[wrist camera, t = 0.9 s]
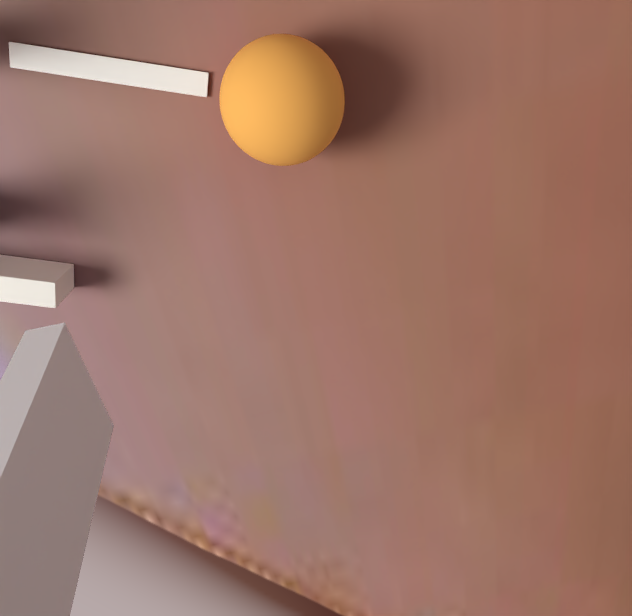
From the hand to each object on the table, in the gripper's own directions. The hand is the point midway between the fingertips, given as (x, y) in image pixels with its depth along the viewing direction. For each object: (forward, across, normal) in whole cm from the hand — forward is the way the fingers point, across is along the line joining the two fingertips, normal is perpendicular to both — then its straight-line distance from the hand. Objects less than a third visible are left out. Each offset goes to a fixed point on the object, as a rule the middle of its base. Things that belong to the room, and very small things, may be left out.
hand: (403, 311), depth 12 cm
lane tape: (+24, +9, -2) cm, 26 cm away
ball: (+20, +1, 0) cm, 20 cm away
